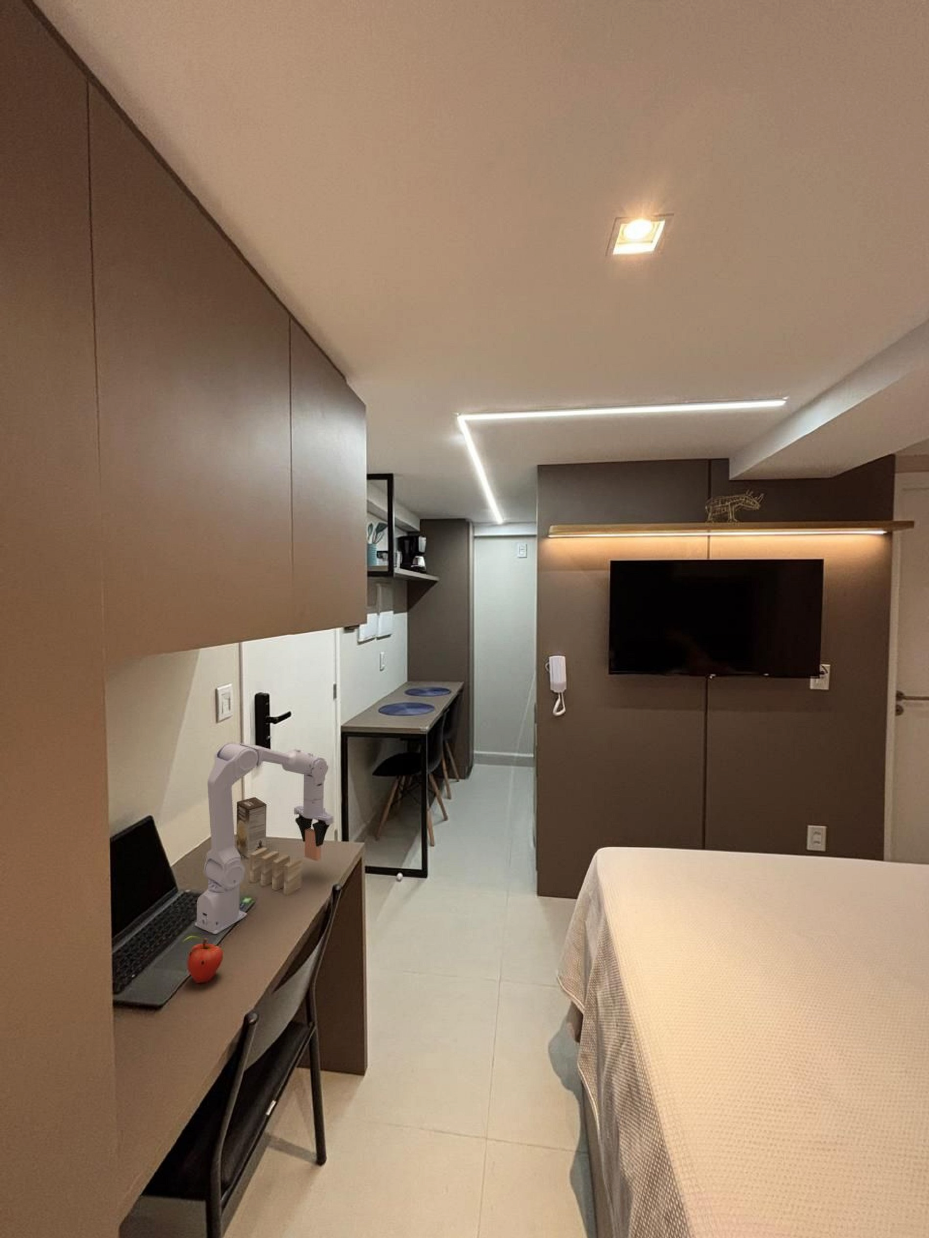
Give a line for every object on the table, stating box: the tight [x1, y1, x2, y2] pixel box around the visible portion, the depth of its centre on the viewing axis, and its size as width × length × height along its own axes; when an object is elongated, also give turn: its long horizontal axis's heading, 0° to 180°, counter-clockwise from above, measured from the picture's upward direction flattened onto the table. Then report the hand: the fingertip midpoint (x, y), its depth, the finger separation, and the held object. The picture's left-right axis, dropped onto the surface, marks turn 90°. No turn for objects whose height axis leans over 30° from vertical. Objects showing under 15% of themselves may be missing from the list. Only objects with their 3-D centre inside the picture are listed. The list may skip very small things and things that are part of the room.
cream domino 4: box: [283, 857, 303, 896], centre depth 151 cm, size 2×5×8 cm, turn 152°
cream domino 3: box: [271, 854, 291, 892], centre depth 153 cm, size 2×5×8 cm, turn 152°
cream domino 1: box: [249, 847, 269, 883], centre depth 157 cm, size 2×5×8 cm, turn 152°
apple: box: [181, 935, 224, 984], centre depth 114 cm, size 8×7×10 cm
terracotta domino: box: [304, 827, 322, 862], centre depth 158 cm, size 2×5×8 cm, turn 58°
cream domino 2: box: [260, 850, 280, 887], centre depth 155 cm, size 2×5×8 cm, turn 152°
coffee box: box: [235, 796, 268, 859], centre depth 175 cm, size 9×6×16 cm
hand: (312, 842), depth 158 cm, fingers closed on terracotta domino, 5 cm apart
